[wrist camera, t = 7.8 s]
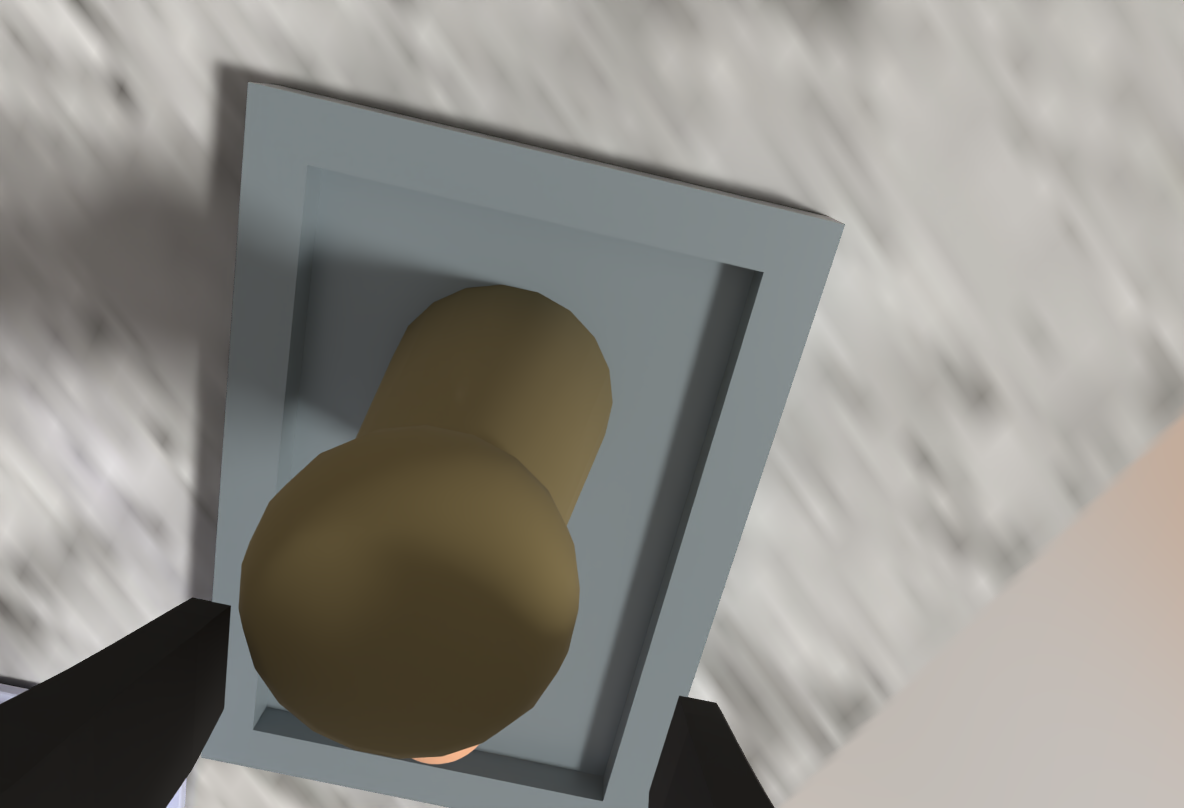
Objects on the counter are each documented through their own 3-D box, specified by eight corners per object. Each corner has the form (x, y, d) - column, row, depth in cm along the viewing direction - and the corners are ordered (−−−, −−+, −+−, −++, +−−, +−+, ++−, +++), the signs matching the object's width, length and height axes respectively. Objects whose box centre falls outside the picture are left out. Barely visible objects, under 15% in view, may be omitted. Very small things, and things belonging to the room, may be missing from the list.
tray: (637, 807, 27) (638, 845, 25) (224, 722, 26) (201, 757, 25) (829, 216, 20) (845, 224, 18) (275, 84, 19) (247, 81, 18)
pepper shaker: (345, 409, 22) (90, 678, 11) (476, 235, 20) (316, 364, 9) (521, 535, 23) (437, 887, 12) (659, 382, 21) (695, 640, 11)
